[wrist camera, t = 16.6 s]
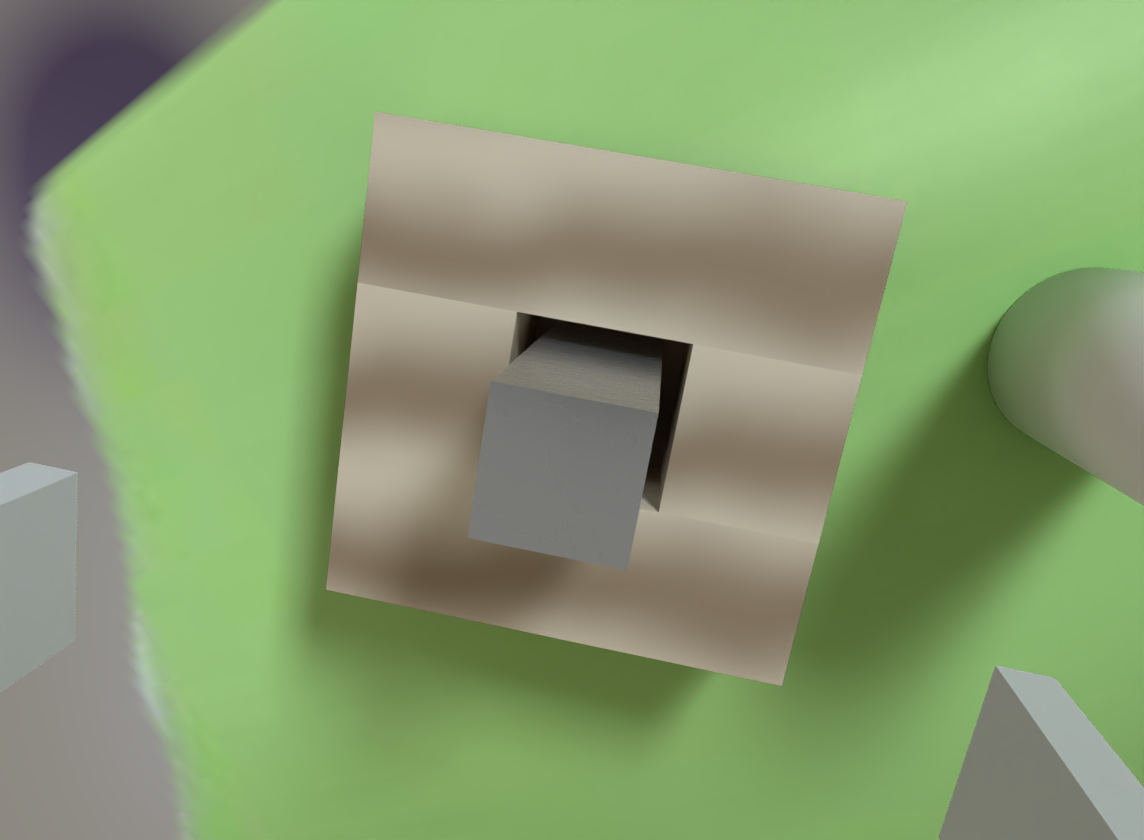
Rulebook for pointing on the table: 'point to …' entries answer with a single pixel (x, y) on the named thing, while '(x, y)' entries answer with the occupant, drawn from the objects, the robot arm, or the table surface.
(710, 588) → the socket block
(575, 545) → the square peg
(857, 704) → the table surface
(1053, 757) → the robot arm
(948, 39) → the table surface
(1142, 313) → the round peg
